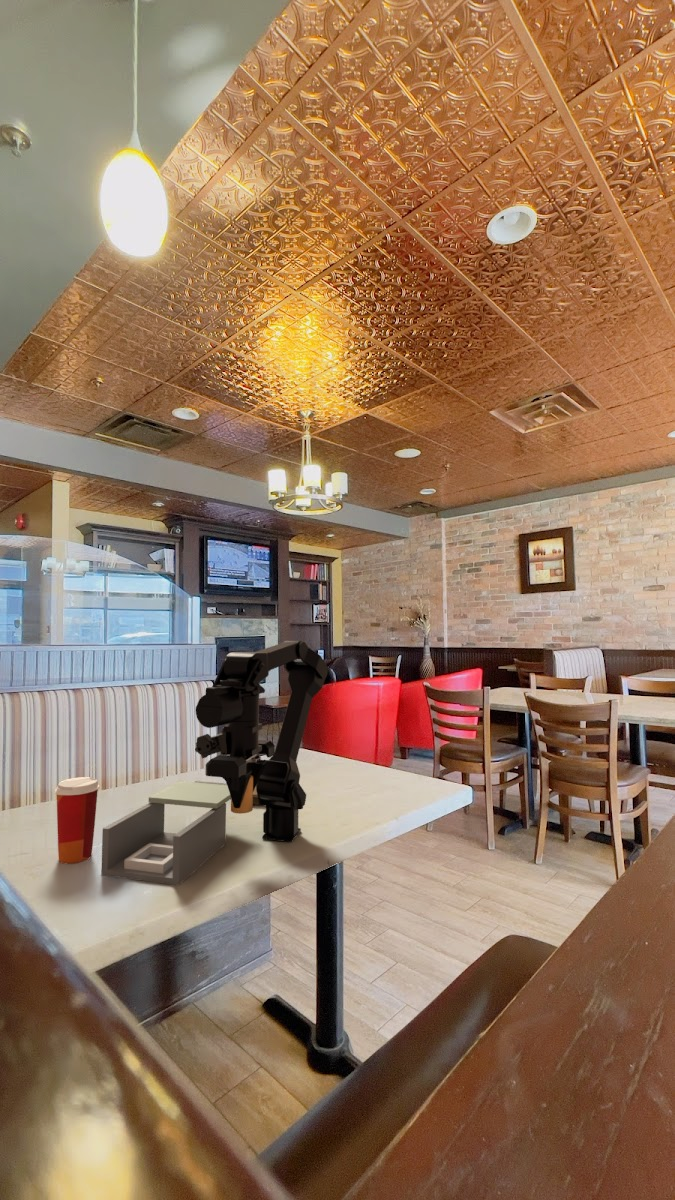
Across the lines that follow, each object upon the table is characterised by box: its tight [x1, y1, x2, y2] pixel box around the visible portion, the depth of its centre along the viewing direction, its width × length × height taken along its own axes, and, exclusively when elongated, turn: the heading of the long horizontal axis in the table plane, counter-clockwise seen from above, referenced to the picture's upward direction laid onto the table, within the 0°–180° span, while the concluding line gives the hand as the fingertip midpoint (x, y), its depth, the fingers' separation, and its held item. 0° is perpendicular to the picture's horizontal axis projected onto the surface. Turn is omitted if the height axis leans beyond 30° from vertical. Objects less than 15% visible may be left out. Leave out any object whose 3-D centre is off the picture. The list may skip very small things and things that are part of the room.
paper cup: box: [54, 776, 100, 865], centre depth 102 cm, size 8×8×14 cm
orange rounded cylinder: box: [230, 775, 254, 815], centre depth 100 cm, size 4×4×6 cm
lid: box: [148, 780, 231, 809], centre depth 113 cm, size 15×13×3 cm
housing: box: [100, 802, 227, 886], centre depth 101 cm, size 15×18×8 cm
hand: (241, 804), depth 100 cm, fingers closed on orange rounded cylinder, 4 cm apart
